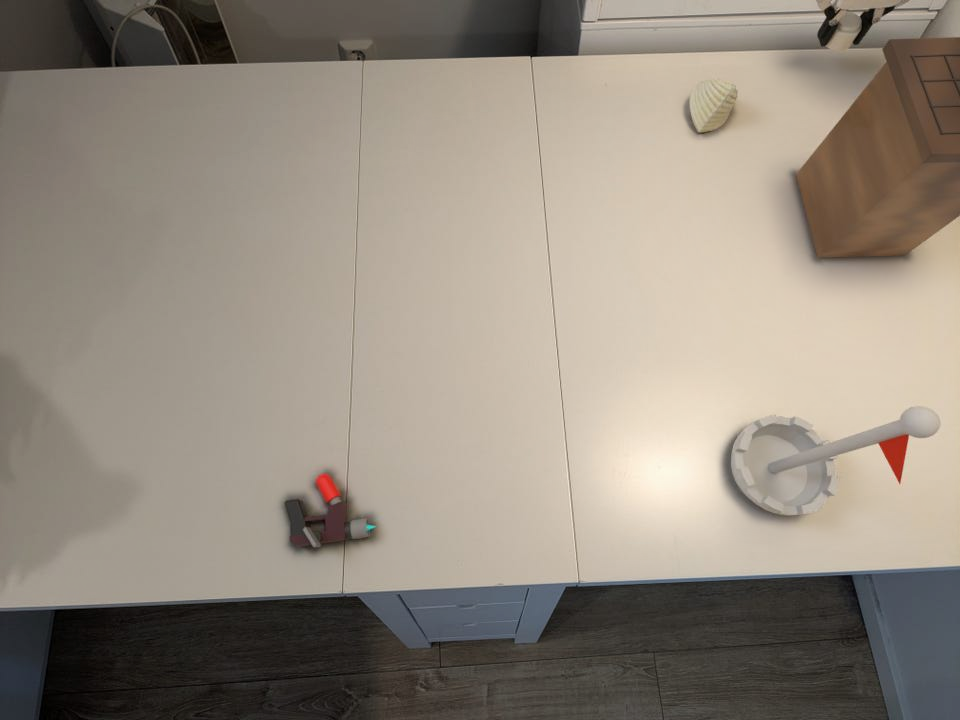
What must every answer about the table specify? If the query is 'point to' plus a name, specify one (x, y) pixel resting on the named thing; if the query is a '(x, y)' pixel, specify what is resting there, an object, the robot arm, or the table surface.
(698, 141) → the table surface
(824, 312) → the table surface
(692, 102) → the seashell
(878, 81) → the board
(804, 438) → the flag stand
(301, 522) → the toy gun
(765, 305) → the table surface
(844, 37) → the white short cylinder
